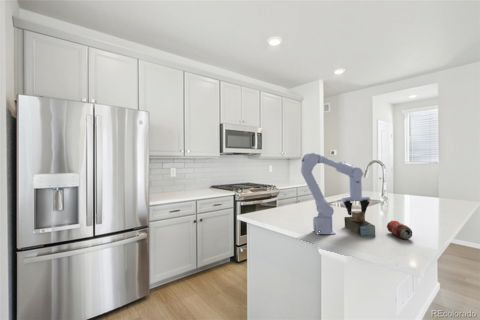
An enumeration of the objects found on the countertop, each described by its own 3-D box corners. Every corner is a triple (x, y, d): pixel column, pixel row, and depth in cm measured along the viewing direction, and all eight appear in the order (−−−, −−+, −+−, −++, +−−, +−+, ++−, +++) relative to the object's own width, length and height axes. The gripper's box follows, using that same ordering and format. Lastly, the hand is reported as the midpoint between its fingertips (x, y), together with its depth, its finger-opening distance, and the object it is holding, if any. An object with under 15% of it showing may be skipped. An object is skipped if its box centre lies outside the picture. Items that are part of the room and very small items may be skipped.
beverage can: (399, 240, 111) (398, 226, 112) (386, 233, 123) (386, 220, 123) (415, 241, 110) (415, 227, 111) (401, 233, 122) (401, 220, 122)
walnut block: (356, 221, 124) (356, 213, 124) (352, 219, 128) (351, 211, 128) (364, 221, 124) (364, 212, 124) (359, 219, 129) (359, 210, 129)
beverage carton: (360, 237, 118) (359, 224, 118) (343, 227, 137) (343, 215, 137) (376, 237, 118) (375, 224, 118) (357, 226, 137) (357, 215, 137)
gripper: (346, 190, 122) (347, 216, 122) (373, 189, 123) (374, 215, 123) (340, 189, 129) (340, 213, 129) (365, 188, 130) (365, 212, 130)
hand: (356, 214), depth 126 cm, fingers open, 7 cm apart
